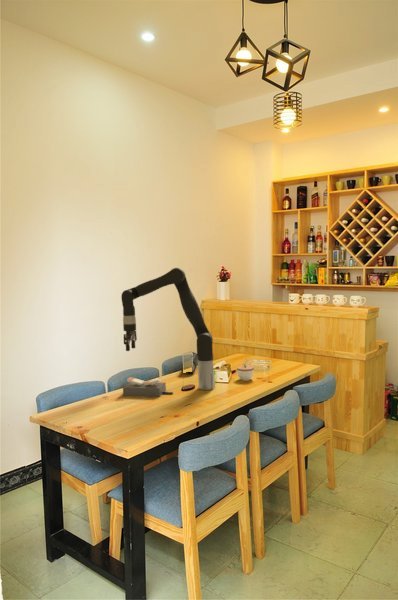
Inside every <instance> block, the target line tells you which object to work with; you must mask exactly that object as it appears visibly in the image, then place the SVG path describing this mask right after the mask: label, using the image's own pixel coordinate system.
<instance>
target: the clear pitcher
mask: <svg viewBox="0 0 398 600" xmlns="http://www.w3.org/2000/svg"><path fill="white" fill-rule="evenodd" d="M192 353H193V356H192V357H193V367H192V373H193V372H195V371H196V369H197V367H198V357H197V352H195V351H193V352H192ZM181 367H182V369H183V363H182V365H181Z"/></svg>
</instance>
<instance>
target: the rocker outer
mask: <svg viewBox="0 0 398 600" xmlns="http://www.w3.org/2000/svg"><path fill="white" fill-rule="evenodd" d="M126 382H128V383H130V382H131V383H133V385H135V384H138V385H142V384H144V382H146V381H145V380H143V379H138V378H136V377H131V376H130V377H129V378H127V379H126Z"/></svg>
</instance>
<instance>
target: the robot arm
mask: <svg viewBox="0 0 398 600" xmlns="http://www.w3.org/2000/svg"><path fill="white" fill-rule="evenodd" d="M170 285H174V286H175V288H176V290H177V293H178V295H179V301H180V304H181V308H182V310H183V312H184V315H185V316H186V319H187V320H188V321H189V323H190V324H191V326H192V329H193V330H194V332H195V335H196V353H197V357H198V363H197V373H198V374H197V376H198V389H199V390H202V391H209V390H214V389H215V386H216V381H215V379H216V378H215V371H214V353H213V341H214V340H213V335H212V333H210V331H209V329H208V327H207V325H206V323H205V320H204V317H203V313H202V311H201V309H200V306H199V304H198V302H197V299H196V298H195V296H194V294H193V292H192V290H191V288H190V286H189V283H188V280H187V277H186V273H185V271H184V270H183V269H182V268H180V267H173V268H171V269H170V270H169V271H167V272H166V273H165V274H163V275H161V276H159V277H155V278H153V279H150V280H148V281H144V282H142V283H140V284H138V285H136V286H135V287H131V288H128V289H126V290H123V291H122V293H121V296H120V297H121V303H122V316H123V318H122V322H123V323H122V324H123V325H122V326H123V328H122V329H123V331H124V332H125V333H124V334H123V345H125V351H126V352H130V350H131V349H136V341H137V319H136V307H135V306H134V300H135V299H136V300H137V299H138V298H140V297H144V296H146V295H149V294H151V293H154V292H155V291H157V290H159V289H161V288H164V287H168V286H170ZM130 344H131V347H130Z"/></svg>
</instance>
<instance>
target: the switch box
mask: <svg viewBox="0 0 398 600" xmlns="http://www.w3.org/2000/svg"><path fill="white" fill-rule="evenodd" d="M145 382H146V381H145ZM145 382H144V383H145ZM166 387H167V385H166V382H157V383H155V384H154V385H151V384H149V385H144V384H142V385H138V384H135V385H133V383H131V382H128V383H127V384H125V385H124V386H123V387H122V392H123V394H122V395H123V397H149V398H151V397H152V398H153V397H154V398H160V397H161V396H163V395H174V392H173V391H167V389H166Z"/></svg>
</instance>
